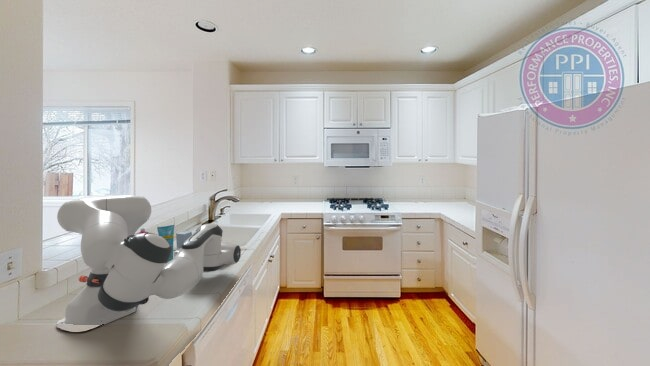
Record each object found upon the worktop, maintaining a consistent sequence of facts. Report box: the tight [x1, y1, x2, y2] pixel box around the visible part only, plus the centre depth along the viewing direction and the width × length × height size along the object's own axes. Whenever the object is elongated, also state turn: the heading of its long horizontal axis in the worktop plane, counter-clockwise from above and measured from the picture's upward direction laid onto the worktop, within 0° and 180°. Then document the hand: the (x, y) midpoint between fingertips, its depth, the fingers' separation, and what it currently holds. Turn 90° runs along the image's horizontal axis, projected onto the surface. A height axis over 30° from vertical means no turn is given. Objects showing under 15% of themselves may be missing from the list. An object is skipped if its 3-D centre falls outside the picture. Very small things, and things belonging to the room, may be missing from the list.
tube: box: [157, 224, 175, 264], centre depth 150 cm, size 7×5×19 cm, turn 134°
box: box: [175, 230, 193, 249], centre depth 139 cm, size 4×4×16 cm
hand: (183, 247), depth 139 cm, fingers closed on box, 4 cm apart
